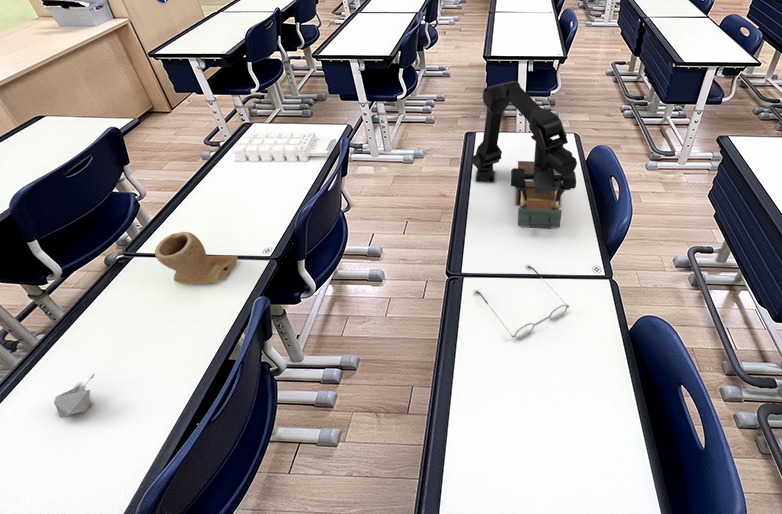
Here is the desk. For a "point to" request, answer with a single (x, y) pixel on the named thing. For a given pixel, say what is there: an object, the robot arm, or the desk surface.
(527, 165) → the cabinet
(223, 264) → the clay pipe
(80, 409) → the grey faceted ornament
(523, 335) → the eyeglasses
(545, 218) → the drawer
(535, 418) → the desk surface
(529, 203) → the brown rectangular box
